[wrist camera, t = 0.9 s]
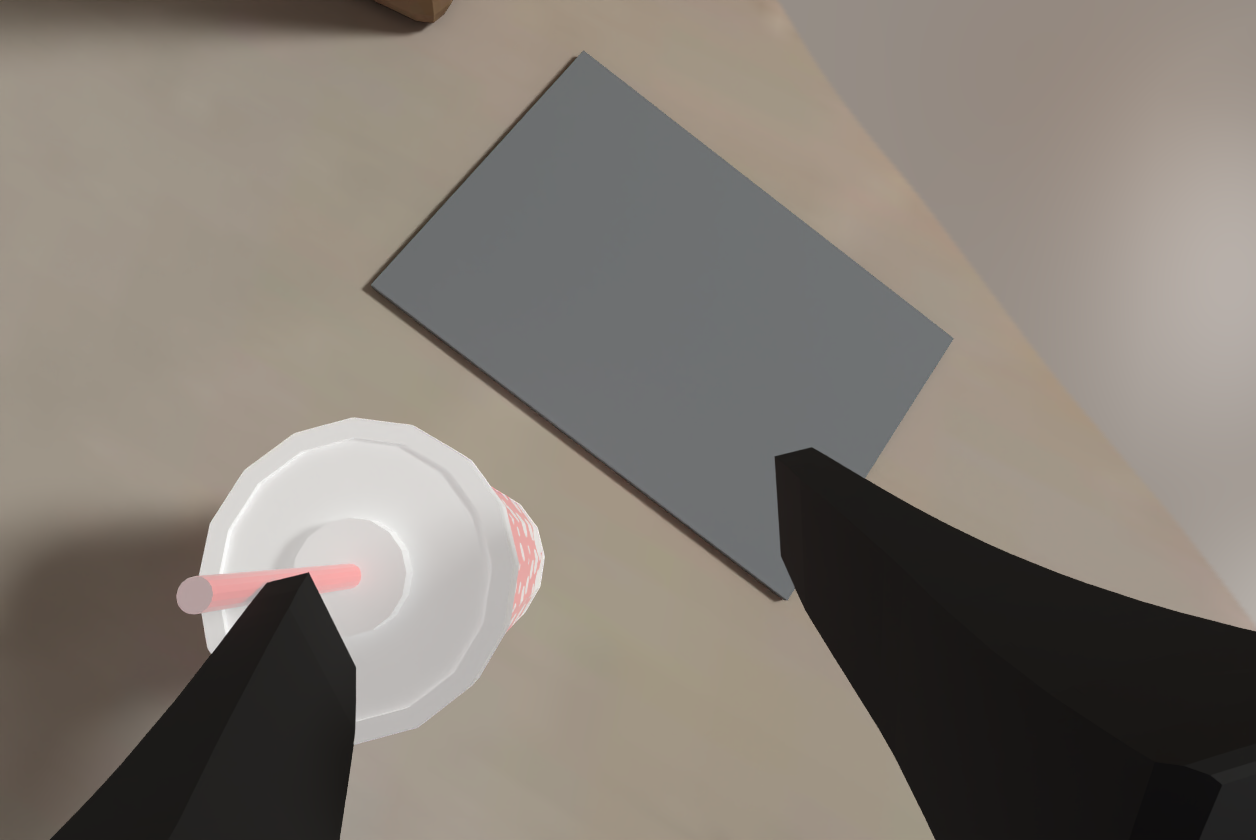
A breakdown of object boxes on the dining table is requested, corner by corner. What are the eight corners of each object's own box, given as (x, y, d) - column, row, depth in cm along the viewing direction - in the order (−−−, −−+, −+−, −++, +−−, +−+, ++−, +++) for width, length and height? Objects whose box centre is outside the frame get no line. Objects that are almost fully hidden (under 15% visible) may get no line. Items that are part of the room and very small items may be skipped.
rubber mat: (784, 600, 25) (787, 600, 25) (372, 287, 25) (370, 284, 25) (948, 340, 28) (953, 338, 28) (582, 55, 28) (583, 50, 27)
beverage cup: (518, 428, 24) (324, 280, 10) (603, 608, 23) (516, 714, 9) (341, 515, 24) (-101, 484, 10) (419, 700, 23) (48, 949, 9)
